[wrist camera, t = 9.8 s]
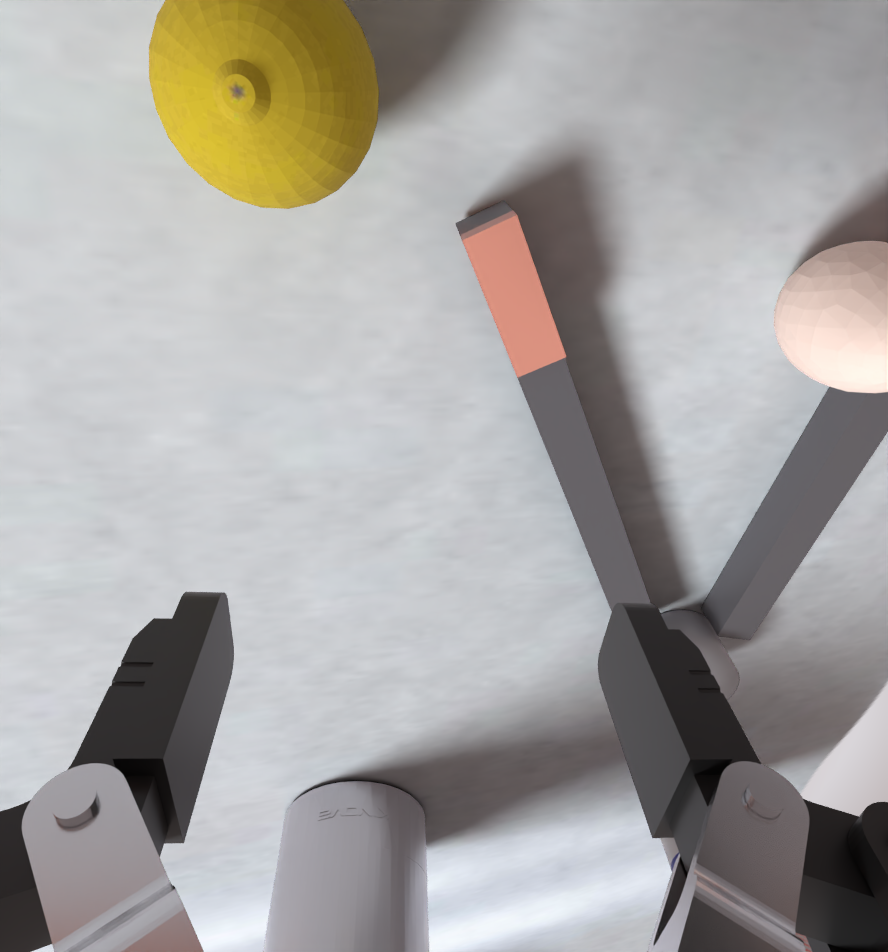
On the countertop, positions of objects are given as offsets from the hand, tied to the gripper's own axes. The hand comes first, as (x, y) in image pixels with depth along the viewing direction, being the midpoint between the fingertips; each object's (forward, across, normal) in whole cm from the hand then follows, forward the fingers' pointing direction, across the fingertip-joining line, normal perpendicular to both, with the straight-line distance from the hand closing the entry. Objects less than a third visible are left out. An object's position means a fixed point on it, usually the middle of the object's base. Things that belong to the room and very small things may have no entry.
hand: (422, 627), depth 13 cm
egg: (+14, -15, -4) cm, 21 cm away
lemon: (+14, +4, -9) cm, 17 cm away
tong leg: (+14, -7, +4) cm, 16 cm away
